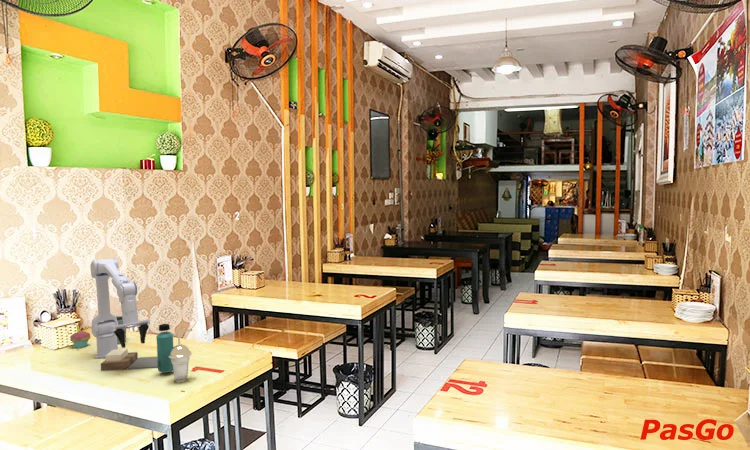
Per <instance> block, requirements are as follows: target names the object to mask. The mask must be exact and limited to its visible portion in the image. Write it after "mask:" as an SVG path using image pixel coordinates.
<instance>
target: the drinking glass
mask: <svg viewBox="0 0 750 450" xmlns="http://www.w3.org/2000/svg"><path fill="white" fill-rule="evenodd" d="M115 316H116V315H115ZM116 318H117V322H118V325H121V324H123V318H122V315H118V316H116ZM107 321H109V320H107ZM124 328H125V327H124ZM122 330H123V331H125V343H126V342H127V329H122ZM116 337H117V336H116ZM119 345H121V343H120V341H119V339H118V337H117V346H119Z"/></svg>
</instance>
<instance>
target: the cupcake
mask: <svg viewBox="0 0 750 450" xmlns="http://www.w3.org/2000/svg"><path fill="white" fill-rule="evenodd" d="M69 338H70V339H69V340H70V342H71V343H72V344H73V346H74V347H75V349H81V348H85V347H87V345H88V342H89V340H90V339H91V333H89V332H87V331H84V330H83V331H80V328H79V324H78V323H76V332H74V333H73V334H71V335H70V337H69Z"/></svg>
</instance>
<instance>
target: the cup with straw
mask: <svg viewBox="0 0 750 450" xmlns="http://www.w3.org/2000/svg"><path fill="white" fill-rule="evenodd" d="M187 332H193V329H192V328H191V329H184V330H179V331H178V333H177V344H175V346H173V348H172V350H171V352H170V354H169V356H168V357H169V358H171V363H172V367H173V371H172V372H173V377H174V382H175V383H183V382H186V381H188V377H189V376H188V375H189V363H190V356H191V357H192V351H191V350H190V349H189V347H188V346H186V345H185V344H181V334H182V333H187Z"/></svg>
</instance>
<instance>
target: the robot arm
mask: <svg viewBox="0 0 750 450" xmlns="http://www.w3.org/2000/svg"><path fill="white" fill-rule="evenodd" d="M90 275H91V278H92V279H95V287H96V298H97V299H96V301H97V312H98V314H97V315H96V316H95V317H94V318H93V319H92V320H91V334H92V336H93V337H95V338H96V352H97V353H96V355H94V356H93V359H102V358H105V359H106V355H107V354H108V353H109V352H111V351H112V350H117V349H119V348H118V346H119V345H117V337H118V339H119V341H120V343H121V344H120V346H121V349H126V342H125V331H123V330H122V329H126V330H127V329H130V328H131V329H133V328H135V327H136V328H138V333H139V337H140V344H145V343H146V337H147V332H148V331H149V325H151V320H150V319H143V320H139V314H138V307H137V298H136V297H137V294H138V285H137V283H136V282H135V281H131V280H129V279H128V277H127V275H126V274H124V273H123V272H120V270H119V262H118V259H116V258H115V257H113V258H105V259H103V258H102V259H96V260H95V259H93V260H92V261H91V263H90ZM110 278H111V284H112V285H113V286H114V287H115V289H116V294H117V297H118V301H119V302H120V308H121V309H120V310H121V316H122V318H123V324H121V325H118V322H117V318H116V315H114V314H112V313H111V303H110V302H111V301H110V291H109V280H110ZM107 320H109V321H107ZM124 327H125V328H124ZM116 336H117V337H116Z"/></svg>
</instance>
